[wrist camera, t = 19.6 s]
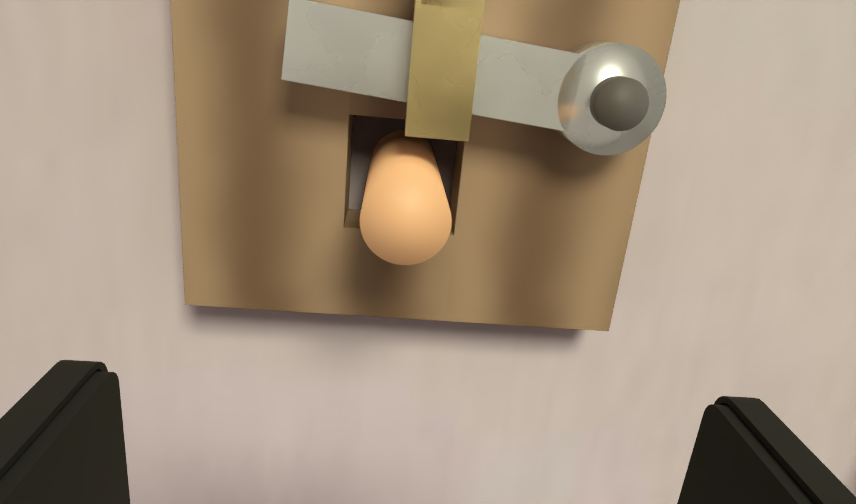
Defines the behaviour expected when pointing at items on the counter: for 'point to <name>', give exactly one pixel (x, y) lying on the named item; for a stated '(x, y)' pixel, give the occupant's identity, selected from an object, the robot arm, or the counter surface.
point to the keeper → (443, 68)
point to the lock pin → (404, 201)
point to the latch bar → (495, 78)
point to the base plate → (330, 177)
